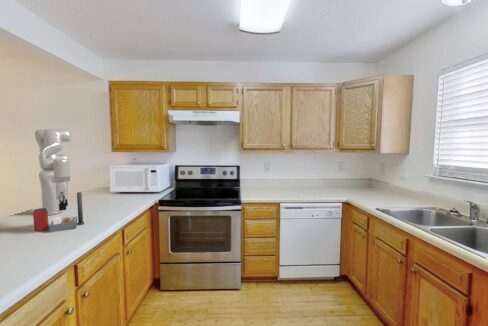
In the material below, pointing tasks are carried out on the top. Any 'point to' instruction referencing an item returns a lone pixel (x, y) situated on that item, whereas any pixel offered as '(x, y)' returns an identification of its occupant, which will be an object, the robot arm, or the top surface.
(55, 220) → the white block
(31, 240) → the top surface
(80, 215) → the post
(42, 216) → the beer can
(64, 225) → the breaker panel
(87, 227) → the top surface
